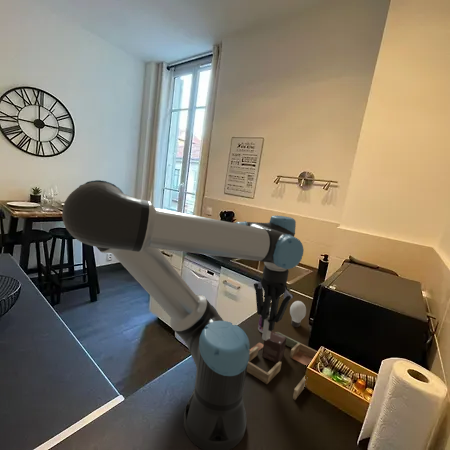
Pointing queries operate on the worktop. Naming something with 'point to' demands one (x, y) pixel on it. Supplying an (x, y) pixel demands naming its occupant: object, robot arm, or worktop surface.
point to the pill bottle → (261, 323)
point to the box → (274, 347)
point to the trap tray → (296, 353)
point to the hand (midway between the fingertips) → (265, 338)
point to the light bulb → (297, 313)
